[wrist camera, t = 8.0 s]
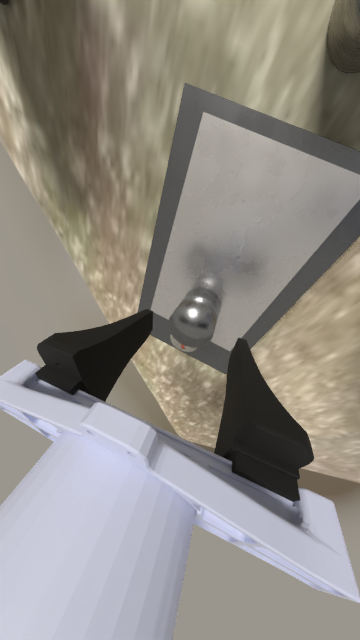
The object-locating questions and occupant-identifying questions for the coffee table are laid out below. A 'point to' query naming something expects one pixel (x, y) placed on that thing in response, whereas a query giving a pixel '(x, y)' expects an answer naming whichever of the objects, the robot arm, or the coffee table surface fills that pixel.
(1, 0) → the grey and red box
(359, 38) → the cylinder
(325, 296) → the coffee table surface
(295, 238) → the pan
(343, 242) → the base
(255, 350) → the coffee table surface
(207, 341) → the cylinder
